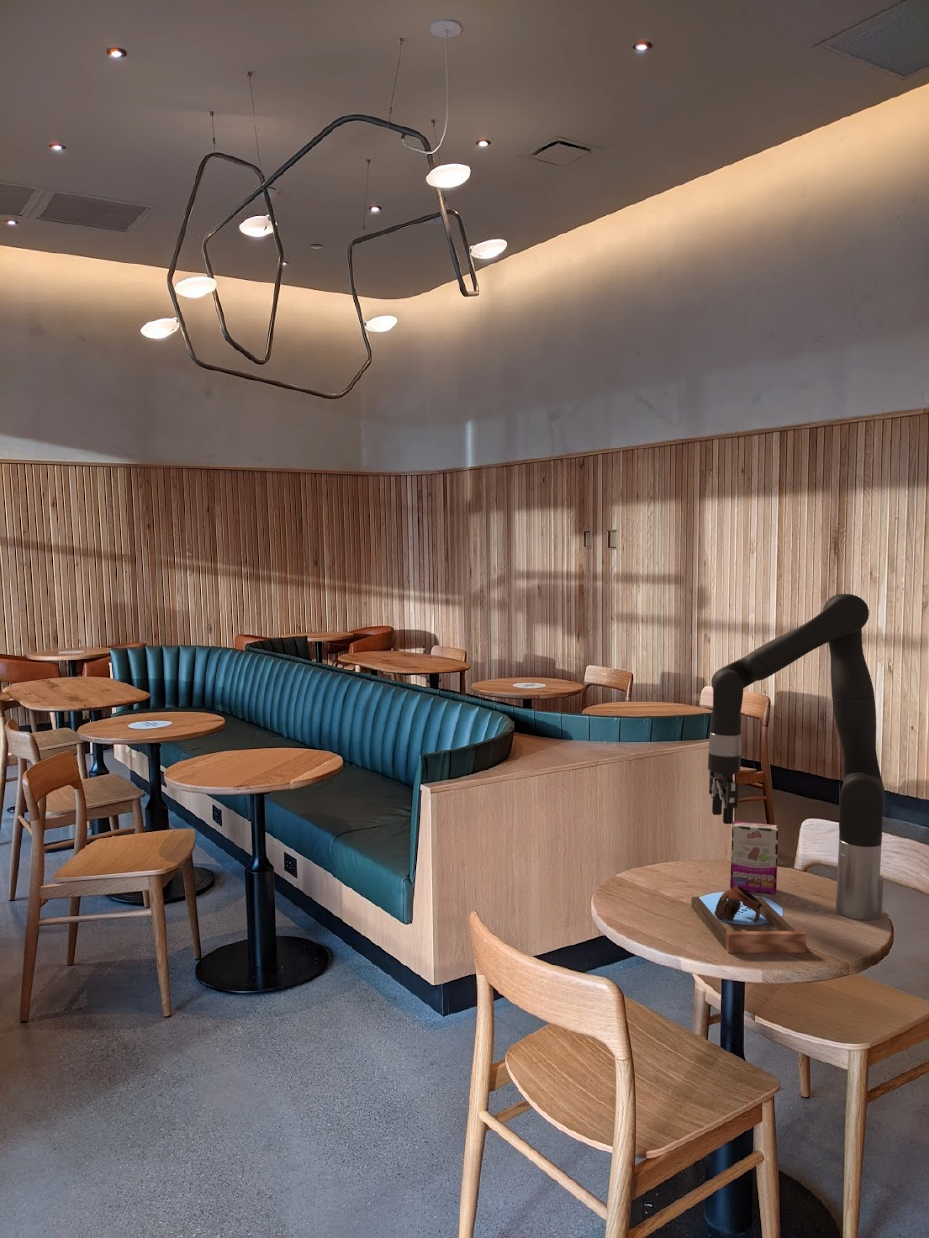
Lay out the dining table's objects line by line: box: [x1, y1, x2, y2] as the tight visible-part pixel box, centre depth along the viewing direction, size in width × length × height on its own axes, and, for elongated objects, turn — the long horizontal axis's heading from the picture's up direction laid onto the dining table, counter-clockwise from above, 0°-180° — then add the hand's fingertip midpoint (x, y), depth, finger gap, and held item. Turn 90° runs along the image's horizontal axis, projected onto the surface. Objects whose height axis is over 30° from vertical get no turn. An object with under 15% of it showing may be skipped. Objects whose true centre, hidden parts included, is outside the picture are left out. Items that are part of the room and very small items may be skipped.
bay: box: [690, 896, 807, 954], centre depth 211 cm, size 17×26×4 cm, turn 3°
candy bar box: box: [729, 820, 779, 895], centre depth 236 cm, size 11×5×16 cm, turn 73°
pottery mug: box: [714, 886, 762, 924], centre depth 216 cm, size 12×10×8 cm
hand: (722, 818), depth 228 cm, fingers open, 7 cm apart
